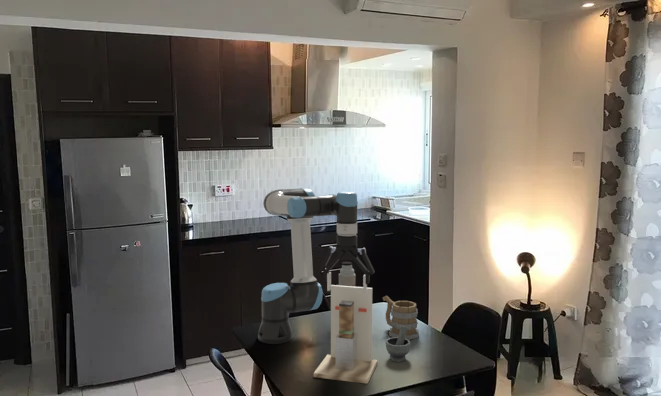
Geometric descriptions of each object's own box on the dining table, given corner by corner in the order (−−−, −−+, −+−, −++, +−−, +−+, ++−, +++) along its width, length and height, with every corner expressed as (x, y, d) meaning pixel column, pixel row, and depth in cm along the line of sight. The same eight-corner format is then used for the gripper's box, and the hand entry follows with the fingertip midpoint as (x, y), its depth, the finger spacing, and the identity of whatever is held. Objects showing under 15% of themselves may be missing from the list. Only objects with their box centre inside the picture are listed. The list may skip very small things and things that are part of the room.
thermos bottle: (358, 318, 263) (358, 261, 260) (350, 323, 256) (350, 265, 253) (344, 316, 267) (344, 259, 264) (335, 320, 260) (335, 263, 257)
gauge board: (330, 357, 212) (330, 286, 209) (331, 355, 214) (331, 284, 211) (370, 362, 208) (371, 289, 205) (371, 360, 210) (372, 287, 207)
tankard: (424, 336, 240) (425, 302, 238) (402, 342, 233) (403, 307, 231) (394, 323, 256) (394, 292, 255) (373, 328, 249) (373, 296, 248)
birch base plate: (313, 376, 198) (313, 373, 198) (327, 358, 215) (327, 354, 215) (367, 383, 193) (367, 379, 193) (377, 363, 210) (377, 360, 210)
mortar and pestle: (402, 365, 208) (402, 335, 207) (381, 359, 214) (381, 330, 213) (415, 356, 218) (416, 326, 216) (395, 350, 223) (395, 322, 222)
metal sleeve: (335, 368, 202) (335, 337, 200) (340, 361, 208) (340, 331, 207) (352, 370, 200) (353, 339, 199) (356, 363, 206) (357, 333, 205)
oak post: (338, 366, 202) (338, 303, 200) (342, 361, 207) (342, 300, 204) (350, 368, 201) (351, 304, 199) (353, 363, 205) (354, 301, 203)
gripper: (311, 234, 198) (311, 291, 200) (378, 237, 192) (378, 296, 194) (317, 231, 206) (317, 286, 208) (382, 234, 199) (382, 291, 201)
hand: (346, 291), depth 201 cm, fingers open, 13 cm apart
